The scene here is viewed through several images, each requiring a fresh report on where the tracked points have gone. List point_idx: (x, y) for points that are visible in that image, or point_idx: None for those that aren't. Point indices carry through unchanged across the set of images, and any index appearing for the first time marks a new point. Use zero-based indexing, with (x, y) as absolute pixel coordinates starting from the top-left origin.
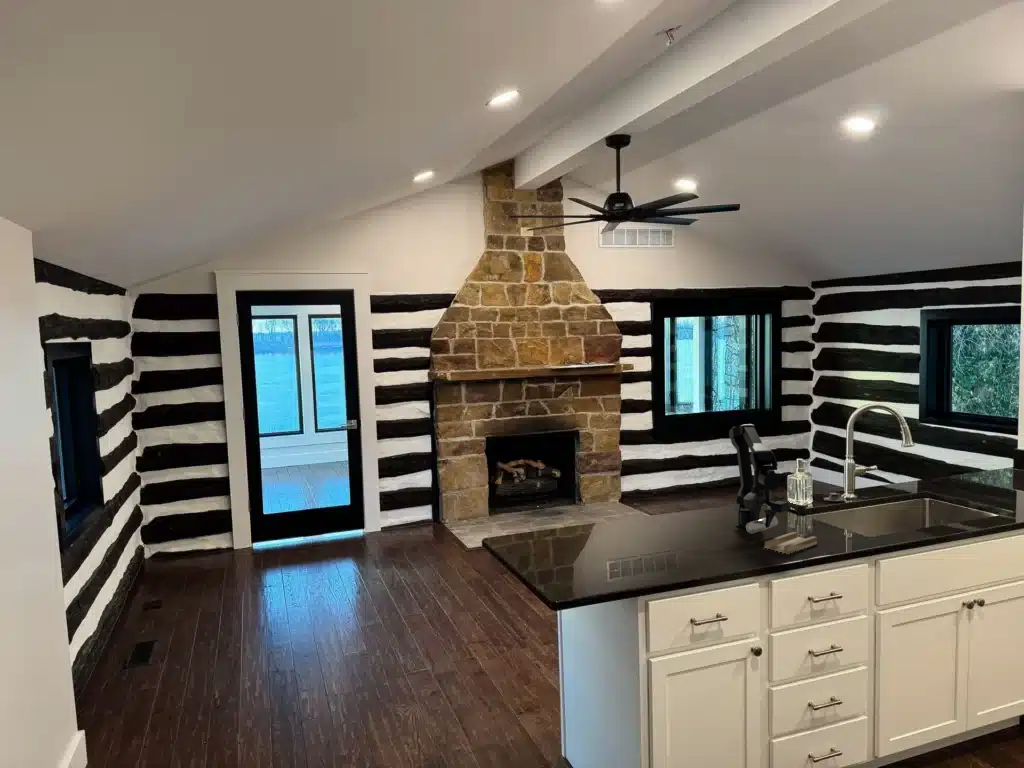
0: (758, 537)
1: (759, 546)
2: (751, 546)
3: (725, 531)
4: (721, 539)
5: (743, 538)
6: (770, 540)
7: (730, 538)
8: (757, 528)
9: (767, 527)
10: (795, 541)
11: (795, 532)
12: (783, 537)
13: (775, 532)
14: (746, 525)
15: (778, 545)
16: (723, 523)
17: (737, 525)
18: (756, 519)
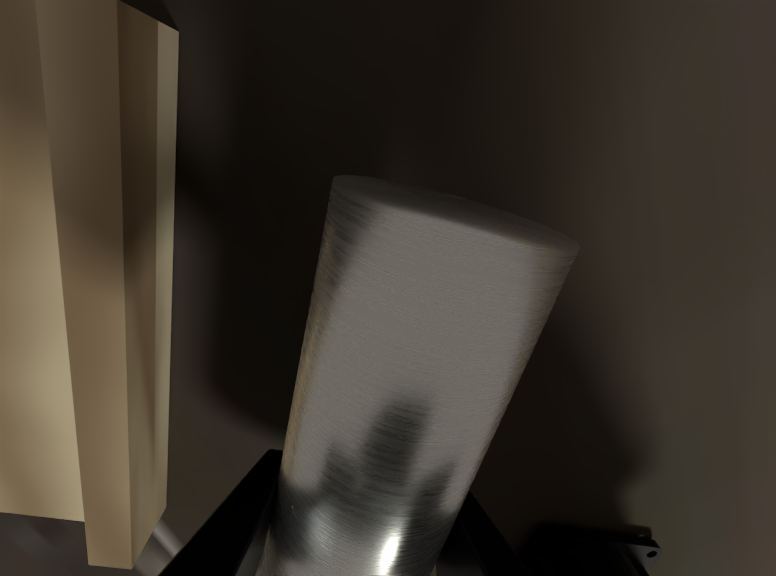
0: None
1: (277, 99)
2: (357, 34)
3: (725, 402)
4: (759, 122)
5: None
6: (90, 132)
7: (659, 222)
8: (320, 251)
9: (268, 457)
10: (20, 402)
11: (103, 560)
12: (71, 369)
13: None
14: (564, 237)
15: (37, 158)
16: (748, 554)
17: (648, 548)
18: (466, 569)
